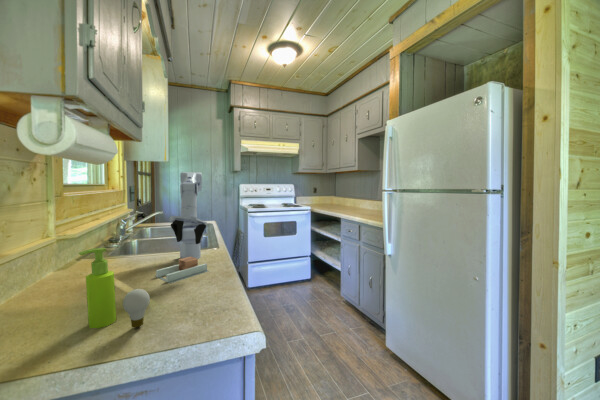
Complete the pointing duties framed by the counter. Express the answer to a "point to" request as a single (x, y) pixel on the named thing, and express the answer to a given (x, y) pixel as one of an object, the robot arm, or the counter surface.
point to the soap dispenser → (100, 291)
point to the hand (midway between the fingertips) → (189, 242)
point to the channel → (180, 272)
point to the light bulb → (136, 306)
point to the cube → (187, 263)
